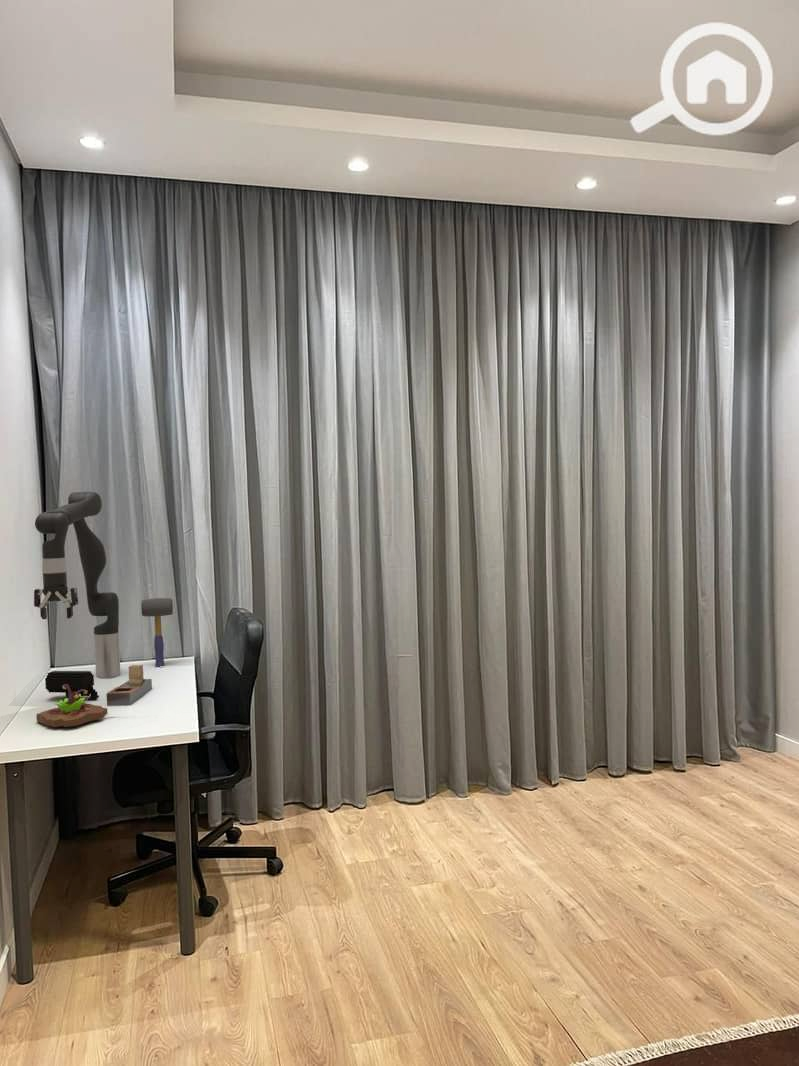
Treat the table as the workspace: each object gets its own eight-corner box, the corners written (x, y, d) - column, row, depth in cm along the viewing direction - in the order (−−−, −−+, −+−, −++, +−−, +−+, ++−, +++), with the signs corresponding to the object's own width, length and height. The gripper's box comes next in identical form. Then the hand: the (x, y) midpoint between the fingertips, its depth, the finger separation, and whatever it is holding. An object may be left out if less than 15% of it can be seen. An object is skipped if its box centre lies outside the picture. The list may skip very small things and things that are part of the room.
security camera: (91, 702, 298) (90, 674, 298) (44, 702, 302) (43, 673, 302) (102, 698, 305) (101, 670, 305) (56, 697, 309) (54, 669, 308)
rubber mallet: (176, 667, 358) (173, 596, 357) (175, 671, 350) (171, 598, 349) (145, 670, 355) (142, 598, 354) (143, 673, 348) (140, 600, 347)
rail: (130, 690, 317) (130, 678, 317) (152, 689, 317) (151, 677, 316) (107, 705, 293) (106, 693, 293) (130, 705, 293) (129, 692, 292)
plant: (80, 708, 292) (78, 675, 291) (116, 715, 281) (114, 681, 280) (25, 722, 276) (24, 687, 275) (61, 729, 264) (59, 693, 264)
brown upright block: (133, 689, 314) (132, 664, 313) (144, 688, 314) (142, 664, 313) (129, 691, 310) (128, 666, 309) (140, 691, 310) (139, 666, 309)
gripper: (79, 569, 295) (81, 616, 296) (38, 571, 295) (41, 617, 296) (70, 571, 287) (73, 619, 288) (28, 573, 288) (31, 620, 288)
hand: (56, 618), depth 292 cm, fingers open, 8 cm apart
